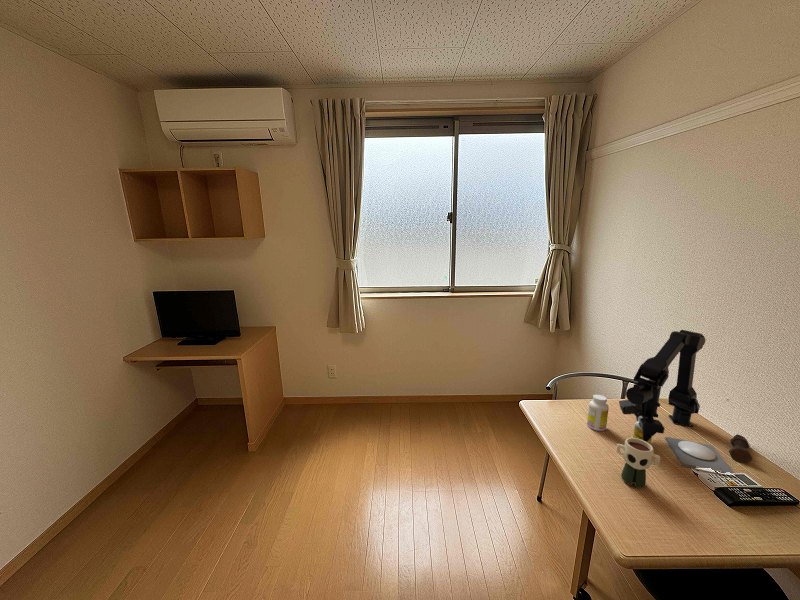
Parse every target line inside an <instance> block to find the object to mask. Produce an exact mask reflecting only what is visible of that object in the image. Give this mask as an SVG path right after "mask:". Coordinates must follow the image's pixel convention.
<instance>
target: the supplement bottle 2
mask: <svg viewBox="0 0 800 600" xmlns="http://www.w3.org/2000/svg"><path fill="white" fill-rule="evenodd" d="M642 418H643V417H641V416H639V417H638V421H637V420H636V421H635V423H634V429H633V435H632V438H637V439H641V440H643V429H642V428H641V427H640V425H639V423H640V419H642ZM652 438H653V436H652V437H651V438H650V439H649V440H648V441H647V443H649V444H650V445H651V443H652Z"/></svg>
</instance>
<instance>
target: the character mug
mask: <svg viewBox="0 0 800 600" xmlns="http://www.w3.org/2000/svg"><path fill="white" fill-rule="evenodd" d="M621 449H623V451H621ZM615 452H616V454H618V455H620V456H621V455H622V458H623V460H624V462H625V463H624V466H623V469H622V472H621V474H620V475H621V476H620V477H621V479H622V481H624V482H625V483H626V484H628V485H629V486H632V485H633V484H634V485H635V486H634V487H635V488H644V487H645V486H646V483H647V482H646V481H647V480H646V479H647V478H646V477H647V471H646V470H648V469H649V468H650V467H651V465H654V466H659V465H660V462H661V461H660V460H661V456H660V455H658V454H655V453H654V447H653V445H652V444H651V443H650V444H649V443H647V442H645V441H643V440H641V439H637V438H633V437H629V438H626V439H625V441H624V444H621V443H617V444H616V449H615ZM653 458H655V460H652V459H653Z"/></svg>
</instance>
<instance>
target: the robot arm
mask: <svg viewBox="0 0 800 600" xmlns="http://www.w3.org/2000/svg"><path fill="white" fill-rule="evenodd" d="M705 343H706V337H705V335H703V333H699V332H694V331H690V330H687V329H681V330H679V331H677V330H676V331H672V332H671V333H670V335H669V338H668V339H667V341H666V342H665V343H664V344H663V346H662V347H661V348H660V349H659V351H658V352H657V353H656V354H655V355H654V357H649V358H647V359H646V360H645V361H644V362H643V363H641V365H640V366H639V368H638V370H637V371H636V374H635V375H634V377H633V378H632V379H633V381H634V382H637V383H634V384H633V386H632V387H629V388H627V390H626V391H625V396H626V399H625V400H619V401H618V405H619V408H620V411H621V412H622V415H634V416H635V419H636V422H637V421H638V417H639V416H641V417H643V418H642V419H640V423H639V425H640V427H641V428H642V429H643V441H645V442H647V441H648V440H649V439H650V438H651V437H652V438H653V437H654V436H655V435H656V434H662V435H663V434H664V433H665V427H664V425H663V424H662V422H661V421H660V420H659V419H656V418H659V414H658V408H660V407H661V403H660V402H659V401H660V396H661V389H662V387H663V386H664V385H665V383H666V382H667V380H668V379H669V374H670V370H669V367H670V365H671V364H672V362H673V361H674V360H675V359H676V357H677V355H679V361H678V367H677V368H678V369H677V378H676V385H675V386H674V387H673V388H672V389H671V390H669V394H668V405H669V406H672V407H673V411H672V414H668V418H669V419H670V421H671V422H672V423H673V424H675V425H680V426H685V427H689V428H690V427H692V428H693V427H694V425H693V423H692V422H691V420H692V415H693V414H699V411H700V408H701V405H700V404H699V403H700V402H699V400H698V399H697V395H698V394H697V392H696V390H695V388H694V387H693V382H694V375H695V374H694V373H695V367H696V366H695V365H696V358H697V353H698V352H699V351H701V350H702V349H703V347H704V346H705ZM652 438H651V439H652Z"/></svg>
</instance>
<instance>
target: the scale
mask: <svg viewBox="0 0 800 600" xmlns="http://www.w3.org/2000/svg"><path fill="white" fill-rule="evenodd" d="M664 439H665V441H666V442H667V445H668V446H669V448H670V449H671V451H672V452H673V454H674V456H675V458H676V460H677V461H678V463H679V464H680V466H682V467H685V468H691V469H695V468H711V469H712V470H715V471H720V472H730V473H735V471H734V469H732V468H731V466H730V465H729V464H728V463H727V461H726V460H725V459H724V458H723V457H722V456H721V454H720V453H719V452H718V451H717V449H716V448H715V447H714V445H711V444H706V443H701V442H696V441H690V440H685V439H680V438H675V437H671V436H670V437H669V436H665V438H664ZM720 468H722V469H720Z"/></svg>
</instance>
